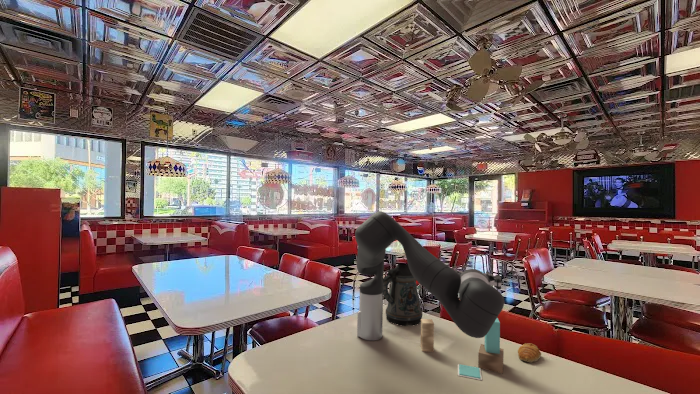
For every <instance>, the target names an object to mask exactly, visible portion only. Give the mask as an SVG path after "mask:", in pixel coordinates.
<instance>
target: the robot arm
mask: <svg viewBox="0 0 700 394" xmlns="http://www.w3.org/2000/svg"><path fill="white" fill-rule="evenodd" d="M354 237H355V241H356V244H357V256H356V269H357V272H358V273H359V274H360V275H364V276H365V275H368V276H369V275H370V276H373V278H371V279H369V280H367V281H364V282H362V283H360V285H359V303H358V304H359V305H358V307H359V308H358V309H359V310H358V311H357V328H356V333H357V334H356V337H358V338H361V339H362V340H364V341H377V340H380V339H382V338H383V312H384V309H383V307H384V301H383V299H384V296H383V278H384V272H385V271H384V270H385V257H386V252H387V251H386V250H387V248H388V247H390V246H391V244H393V243H394V242H395V241H397V242H399V243H400V245H401V246H402V248H403V251H404V254H405V257H406V263H407V264H408V266H409V269H410V271H411V273H412V275H413V277H414V278H415V279H416V282H417V283H418V284H420V285H421V286H422V287H424V289H426V290H427V291H428V292H429V293H430V294H431V295H433V296H434V297H435V298H436V299H437V300H438V302H439V303H440V304H441V305H442V307H443V308H444V310H445V311H446V313H447V314H448V315H449V317H450V319H451V320H452V321H453V323H454V324H455V325H456V327H457V328H458V329H459V330H460V331H461V332H463V333H464V334H465V335H467V336H469V337H471V338H475V339H481V338H485V335H486V334H487V333H488V332H489V330H490V328H491V327H492V325H493V323H494V322H495V320H496V319H497V318H498V317H499V315H500V314H501V312H502V311H503V309H504V306H505V298H504V296H503V295H502V293H501V292H500V291H499V290H502V277H501V275H499V274H495V276H494V274H492V273H490V272H489V271H485V272H483V271H481V270H479V269H476V268H475V269H474V268H469V269H465V270H463V271H461V270H458V269H457V268H455V269H453V268H452V267H450V266H449V265H448V264H446V263H445V262H443V261H442V260H441V259H440V258H438V257H436V256H435V255H434V254H432V253H431V252H430V251H428V249H426V248H425V247H424V246H423V245H422V244H421V243H420V242H419V241H418V240H417V239H416V238H415V237H413V236H412V235H411V233H410V232H408V231H407V229H405V228H404V227H403V226H402V225H401V224H400V223H399V222H398V221H397V220H395V219H394V218H393V217H392V216H390V215H389V213H388V214H387V212H384V211H381V210H377V211H376V212H374V213H372V215H371V216H369V217H368V218H367V219H366V220H364V222H363V223H360V224H359V226H357V228H356V230H355V233H354Z"/></svg>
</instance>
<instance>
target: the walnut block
mask: <svg viewBox="0 0 700 394" xmlns="http://www.w3.org/2000/svg"><path fill="white" fill-rule="evenodd" d="M477 353H478V354H477V356H478V361H477V362H478V364H477V365H478V366H477V367H478V368H480V369H483V370H486V371H490V372H494V373H498V374H503V370H504V348H501V347H500V354H497V353H489V352H486V350H485V344H482V343H480V345H479V349H478V352H477Z"/></svg>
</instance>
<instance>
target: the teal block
mask: <svg viewBox="0 0 700 394" xmlns="http://www.w3.org/2000/svg"><path fill="white" fill-rule="evenodd" d="M484 345H485V350H486V352H489V353H497V354H500V348H501V322H500V320H499V318H498V317H497V319H496V320H495V322H494V323H493V325H492V327H491V328H490V330H489V332H488V333H487V334H486V335H485V336H484Z"/></svg>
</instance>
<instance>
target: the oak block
mask: <svg viewBox="0 0 700 394" xmlns="http://www.w3.org/2000/svg"><path fill="white" fill-rule="evenodd" d="M434 341H435V323H434V321H433V319H431V318H422V319H421V323H420V345H419V346H420V349H421V352H427V353H428V352H429V353H434V348H435V347H434V345H435V344H434V343H435V342H434Z"/></svg>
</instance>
